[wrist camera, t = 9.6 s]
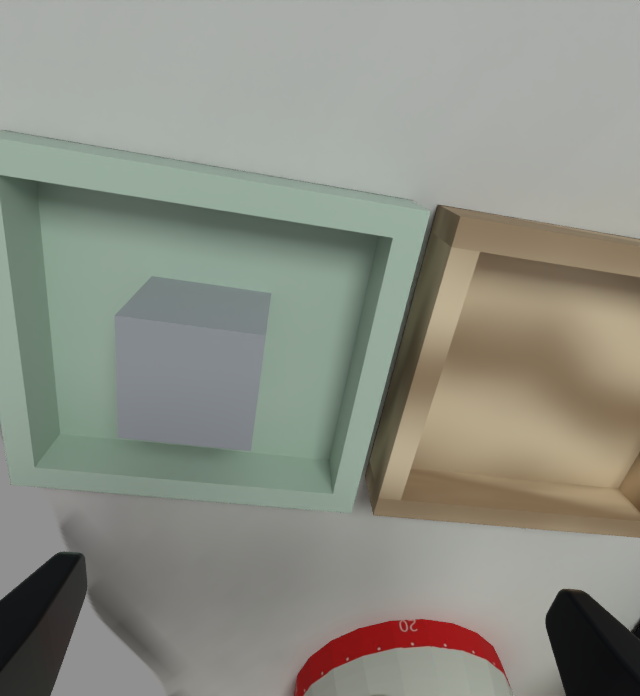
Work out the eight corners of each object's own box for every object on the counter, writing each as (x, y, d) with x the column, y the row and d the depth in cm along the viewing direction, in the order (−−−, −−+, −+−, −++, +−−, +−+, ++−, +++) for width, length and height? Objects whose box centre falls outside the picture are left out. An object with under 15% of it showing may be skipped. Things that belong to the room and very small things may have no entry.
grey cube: (258, 391, 20) (250, 451, 16) (150, 379, 19) (117, 438, 15) (271, 293, 18) (265, 335, 14) (152, 275, 17) (114, 315, 14)
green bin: (345, 474, 22) (351, 513, 20) (41, 445, 21) (10, 484, 18) (412, 200, 17) (430, 211, 14) (4, 130, 15) (-46, 130, 13)
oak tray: (623, 500, 24) (657, 539, 22) (365, 476, 22) (373, 515, 20) (766, 260, 18) (831, 279, 16) (437, 204, 17) (460, 216, 15)
